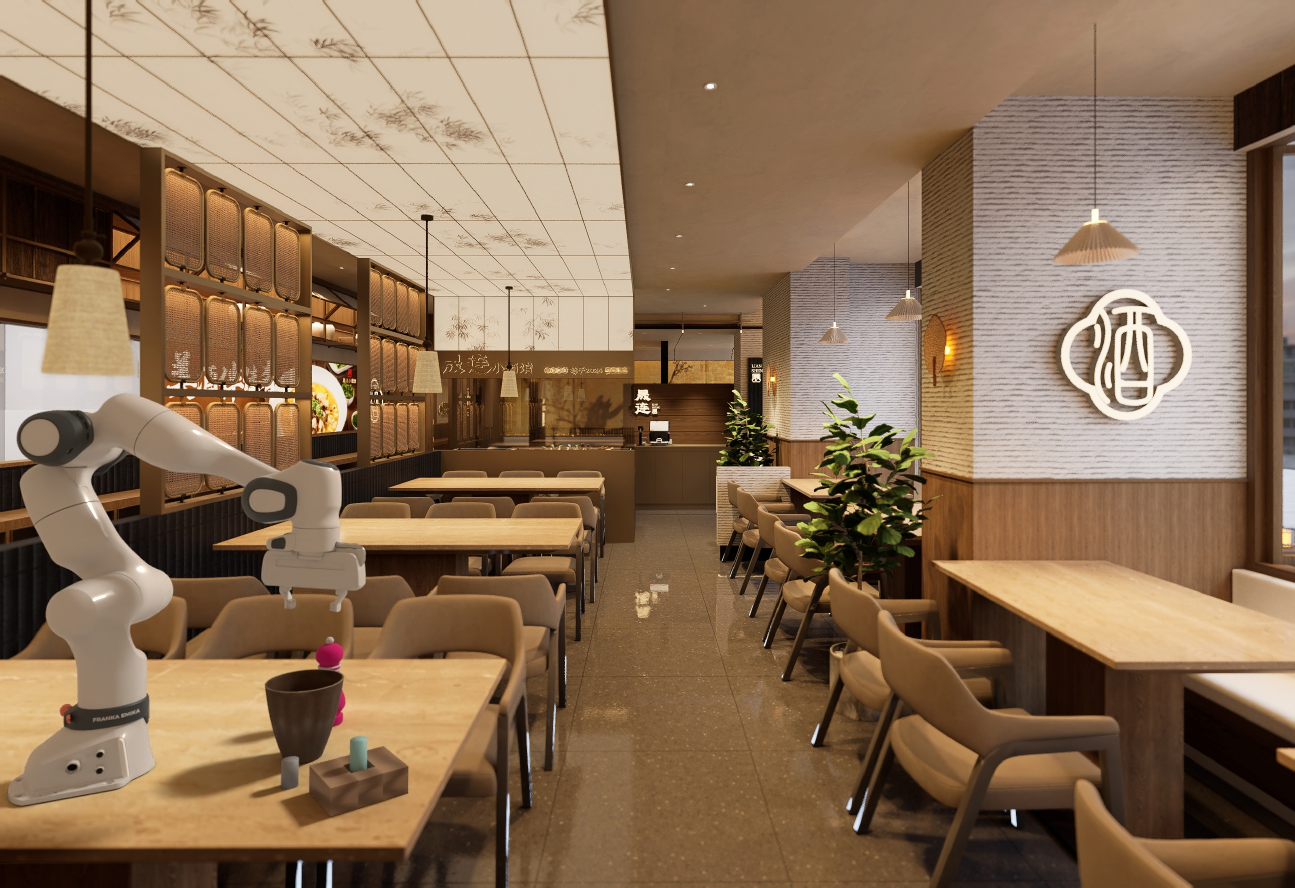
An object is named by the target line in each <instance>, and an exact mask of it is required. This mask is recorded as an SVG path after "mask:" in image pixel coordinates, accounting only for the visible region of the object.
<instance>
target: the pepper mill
mask: <svg viewBox="0 0 1295 888" xmlns="http://www.w3.org/2000/svg"><path fill="white" fill-rule="evenodd" d="M334 641H335V639H334V637H332V636H327V638H326V639H325V643H324V644H322V645H320V646H319V647H318V648H317V649H316V652H315V661H316V663H318V665H317V669H327V670H334V671H338V672H340V671H341V670H342V664H341V663H340V662H341V661H342V659H343V657H344V656H345V655H344V654H345V653H344V650H343V649H344V648H343V647H342V646H341V645H340V644H339V643H336V642H335V643H334ZM345 707H346V696H345V693H344V691H343V689H342V692H341V698H340V702H339V706H338V710H337V714H336V718H335V721H334V724H333V727H337V726H338V725H340V724H342V723H343V722H344V713H343V712H342V711H343V710H344V709H345Z"/></svg>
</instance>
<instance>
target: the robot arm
mask: <svg viewBox="0 0 1295 888" xmlns="http://www.w3.org/2000/svg"><path fill="white" fill-rule="evenodd" d="M24 419H25V418H24ZM16 445H17V448H18V449H19V451H20V453H21V454H22V455H23V456H24V457H25V458H26V459H28V460H30V461H31V462H34V463H36V465H34V466H32V467H30V468H29V469H27V470H26V472H24V473H23V474H22V476H21V478H20V481H19V487H20V492H21V496H22V499H23V504H24V506H25V508H26V511H27V515H28V516H29V518H30V521H31V522H32V524H33V526H34V528H35V530H36V533H37V534H38V536H39V538H40V540H41V541H42V543H43V545H44V547H45V549H46V551H47V553H48V554H49V557H50V559H51V560H52V561H53V562H54V563H55V564H56V565H59V566H60V567H63V568H65V569H68V570H70V571H72V572H73V573H75V574H76V575H77V576H78V577H79V578H80V579H82V580H79V581H76V582H74V583H72V584H71V585H69V586H67V587H65V588H63V589H60V591H58V592H56V593H54V595H52V597H51V598H50V599H49V602H48V603H47V606H46V608H45V609H46V610H45V619H46V623H47V625H48V627H49V629H50V630H51V631H52V632H53V633H54V634H55V635H56V636H58V637H59V638H62V639H63V640H64V641H65V643H67V644H68V646H69V648H70V650H71V652H72V655H73V657H74V660H75V665H76V677H77V678H76V679H77V680H76V681H77V685H76V686H77V691H76V692H77V700H76V701H77V703H75V704H74V705H71V704H70V703H65V704H63V705H61V707H60V708H59V714H60V716H61V717H63V719H62V721H63V727H61V728H60V729H59V730H57V731H56V732H55V733H54V734H53V735H51V736H50V737H47V739H46V740H44V741H43V742H41V743H40V744H39V745H38V746H36V747H35V748H34V749H33V750H32V752H31V753H30V754H29V756H28V758H27V761H26V763H25V766H24V770H23V773H22V774H21V775H18V776H17V777H15V778H14V779H13V780H11V782H10V783H9V785H8V788H7V799H8V801H9V802H10V803H12V804H13V805H17V806H27V805H33V804H39V803H44V802H50V801H55V800H56V801H57V800H62V799H68V798H73V797H78V796H84V795H89V794H94V793H95V794H96V793H101V792H106V791H111V790H116V789H120V788H122V787H124V786H126V785H127V784H128V783H129V782H131V781H133V780H134V779H136V778H138V777H140V776H143V775H144V774H146V773H147V772H149V771H151V770H152V769H153V768H154V767H155V765H156V759H155V757H154V754H153V751H152V747H151V742H150V737H149V736H150V735H149V728H148V724H149V721H150V716H151V715H150V714H151V713H150V712H151V699H150V695H149V693H148V691H147V689H148V657H147V655H146V653H145V652H143V651H142V650H141V649H140V648H137V647H136V646H135V644H134V642H133V639H132V635H131V625H135V624H138V623H140V622H144V621H147V620H148V619H150V618H152V617H154V616H155V615H157V614H158V613H160V612H161V611H162V610H164V609H165V608H166V607H167V606H168V605H169V604H170V603H171V601H172V599H173V596H174V595H173V594H174V585H173V582H172V579H171V578H170V577H169V575H168V574H166V573H165V572H164V571H163V570H161V569H157V568H156V567H153V566H152V565H149V564H148V563H147V562H146V561H145V560H143V559H142V558H141V557H140V556H139V555H138V554H137V553H136V552H135V551H134V550H132V548H131V547H130V546H129V545H128V544H127V543H126V542H125V540H123V539H122V537H121V536H120V534H119V533H118V531H117V530H116V528H115V526H114V525H113V523H112V521H111V519H110V517H109V516H108V514H107V512H106V510H105V508H104V507H103V505H102V502H101V501H100V499H99V497H98V496H97V493H96V492H95V490H94V487H93V485H92V477H93V476H102V475H104V474H105V473H106V472H108V470H110V468H112V467H113V466H114V465H116V464H117V463H119V462H121V461H122V460H123V459H125V457H126V456H128V454H131V455H132V456H134V457H136V458H137V459H140V460H142V461H143V462H146V464H149V465H151V466H155V467H158V468H159V469H162V470H163V469H164V470H166V471H170V472H173V473H183V474H184V473H187V474H201V475H202V474H203V475H204V474H205V475H211V476H216V477H221V478H224V479H227V480H229V481H232V482H234V483H236V484H237V485H240V486H241V487H244V488H243V490H242V493H241V497H240V498H241V499H240V501H241V507H242V510H243V512H244V513H245V515H246V516H247V517H248V518H249V519H250V520H252V521H255V522H257V523H261V524H275V523H280V522H281V523H282V522H287V521H290V522H291V526H292V528H291V531H290V532H286V533H283V534H281V535H278V536H277V535H276V536H274V537H270V538H268V539H266V547H265V548H266V549H267V551H266V552H265V554H264V556H263V560H262V565H261V575H260V577H261V582H262V583H263V584H264V586H276V587H279V589H278V590H279V591H278V592H279V594H280V596H281V597H282V599H283V602H284V606H283V607H284V610H288V609H289V610H293V609H295V608H296V607H297V598H293V596H292V594H291V592H290V591H291V590H292V589H293V588H304V589H305V588H306V589H321V590H324V589H325V590H335V595H336V596H337V597H336V598H335V601H332V602H329V611H330V612H331V613H332V612H334V613H338V612H340V611H341V610H342V602H344V601H343V600H344V599H345V598H346V597H347V594H348V591H353V592H354V591H358V590H360V589H362V588H363V587H364V586H365V585H366V578H367V576H366V574H367V573H366V564H365V563H366V558H367V557H366V555H367V553H366V549H365V548H364V547H363V546H362V545H360V543H356V542H353V543H349V542H344V541H343V542H342V541H341V538H340V537H341V521H340V517H339V515H340V510H341V507H342V498H343V497H342V492H343V491H342V489H343V488H342V475H341V472H340V469H339V468H338V467H337V466H336V465H335V464H333V463H331V462H327V461H325V460H324V461H323V460H320V459H318V460H317V459H311V458H306V459H305V458H304V459H301V460H299V461H298V462H297V463H295V464H294V465H291V466H290V467H288V468H285V469H279V468H277V467H275V466H273V465H271V464H268V463H267V462H265V461H262V460H260V459H259V458H256V457H254V456H253V455H250V454H249V453H246V452H244V451H242V450H240V449H239V448H237V447H234V446H232V445H231V444H228V443H227V442H226V441H224V440H223V439H221V438H219V437H217V436H216V435H214V434H212V433H211V432H209V431H208V430H205V429H204V428H203V427H201V426H200V425H198V424H196V423H195V422H193V421H191V420H189V419H188V418H186V417H185V416H184V415H181V414H179V413H178V412H177V411H174V410H172V409H171V408H169V407H167V406H165V405H163V404H160V403H158V402H156V401H153V400H151V399H148V398H146V397H142V396H139V395H136V394H133V393H127V392H125V393H119V394H116V395H113V396H111V397H110V398H108V399H107V400H105V401H104V402H103V403H102V405H101V406H100V407H99V408H98V410H97V411H95V412H88V411H83V410H80V409H79V410H78V409H73V410H71V409H52V410H47V411H46V410H45V411H40V412H37V413H34V414H32V415H30V416H28V417H26V419H25V420H23V421H22V422H21V423H20V425H19V426H18V430H17V432H16ZM340 541H341V542H340Z"/></svg>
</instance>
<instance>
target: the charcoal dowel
mask: <svg viewBox="0 0 1295 888" xmlns="http://www.w3.org/2000/svg"><path fill="white" fill-rule="evenodd" d="M280 763H281V765H280V770H281V771H280V789H281V790H284V791H285V790H293V789H295V788H297V787H298V786H299V775H300V773H299V771H300V770H299V769H300V764H299V757H296V756H290V757H286V758H284V759H283V758H282V759H281V762H280Z"/></svg>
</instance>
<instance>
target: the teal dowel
mask: <svg viewBox="0 0 1295 888" xmlns="http://www.w3.org/2000/svg"><path fill="white" fill-rule="evenodd" d="M367 750H368V737H367V736H365V735H359V736H354V737H351V738H350V739H349V755H350V773H354V772H357V771H361V770H364V769H367Z"/></svg>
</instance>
